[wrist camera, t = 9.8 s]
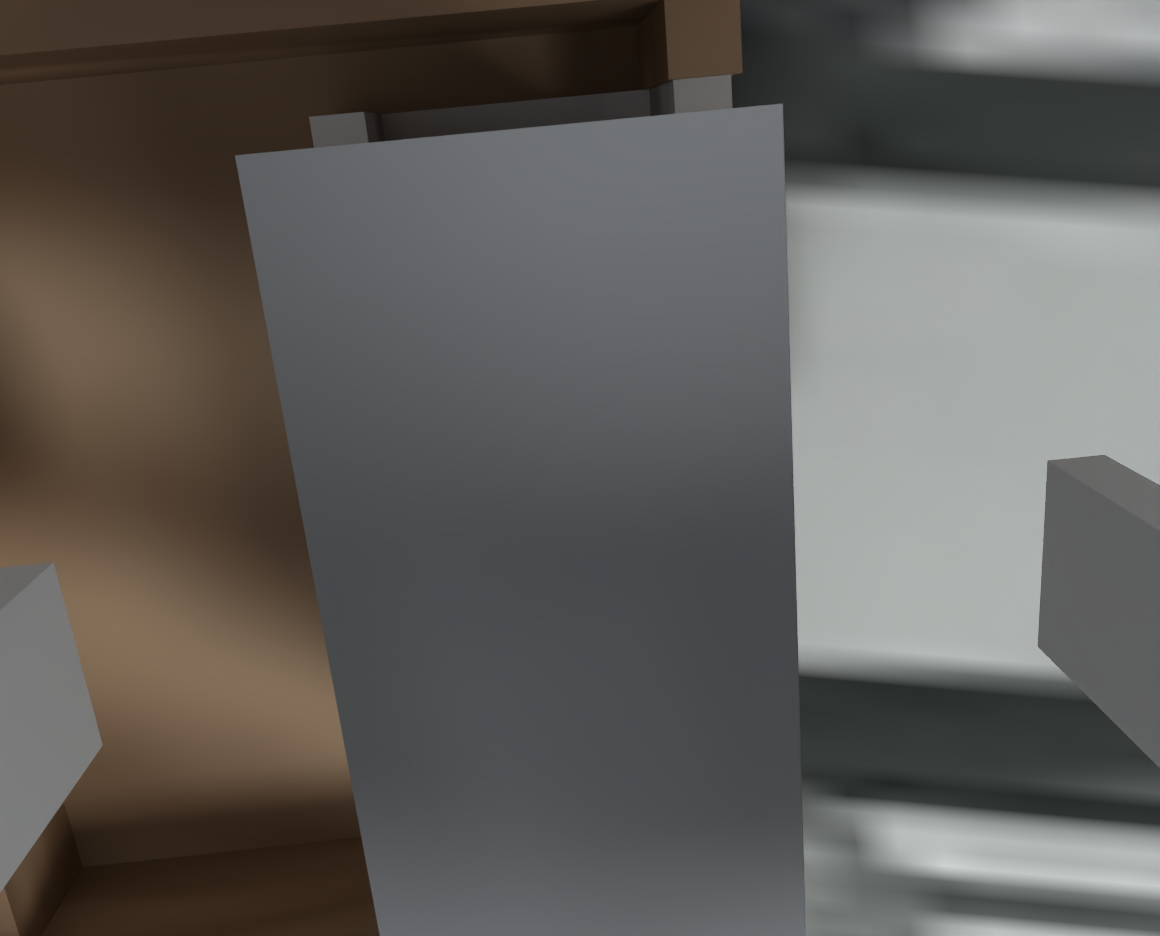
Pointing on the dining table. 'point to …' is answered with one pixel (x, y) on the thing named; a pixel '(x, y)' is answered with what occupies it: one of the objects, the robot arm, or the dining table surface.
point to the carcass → (225, 405)
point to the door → (551, 515)
